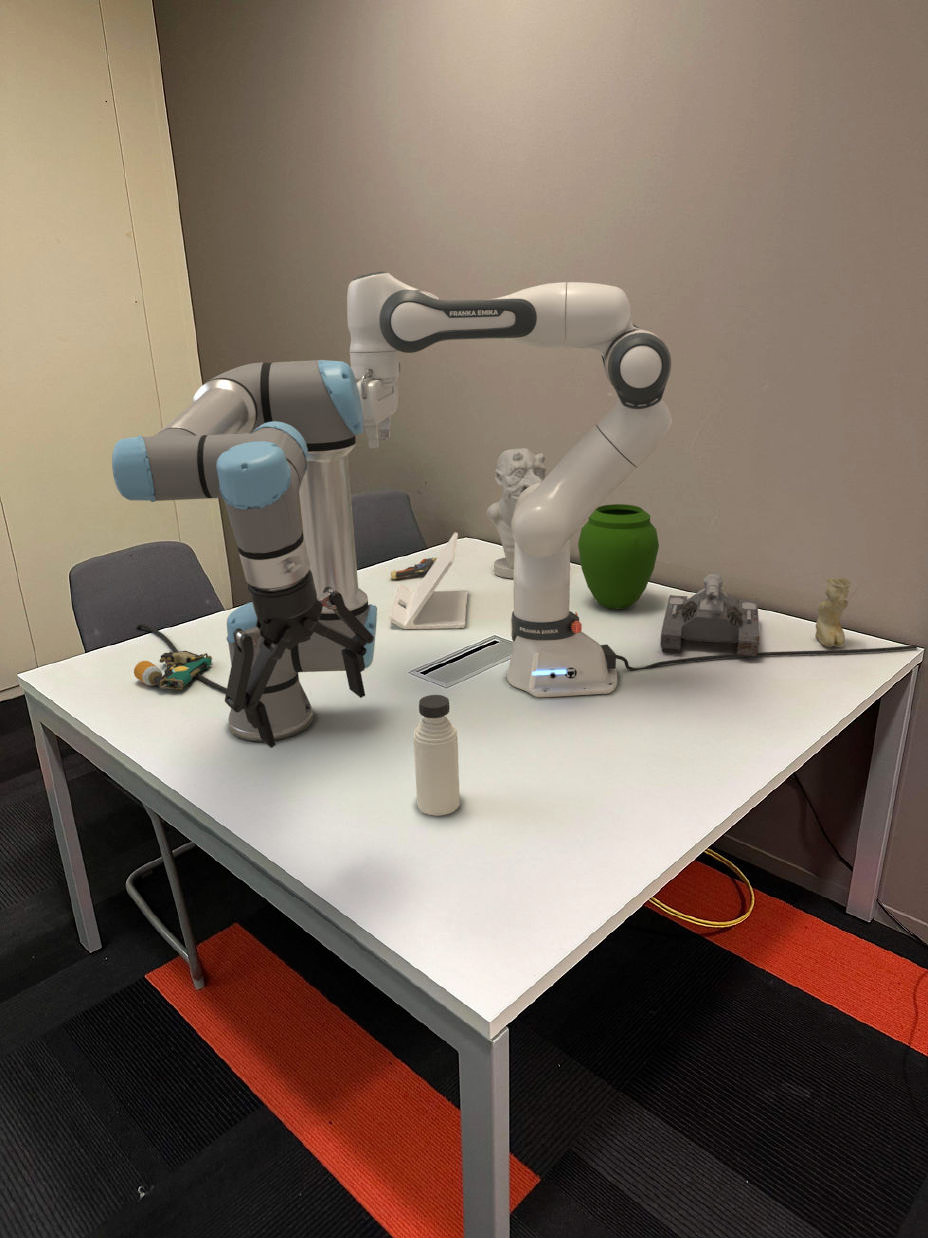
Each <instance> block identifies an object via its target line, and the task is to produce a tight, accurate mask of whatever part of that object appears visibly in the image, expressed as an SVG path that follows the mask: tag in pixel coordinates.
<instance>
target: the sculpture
mask: <svg viewBox="0 0 928 1238" xmlns="http://www.w3.org/2000/svg"><path fill="white" fill-rule="evenodd" d="M826 581H827V586H826V588H825V590H824V593H825V595H826V596H827V598H826V600H824V601H822V602H821V603H820V604H819V605H818V606H817V609H816V610H817V612H818V614H819V616H818V617H817V619H816V623H815V630H816V631H815V634H814V635H815V639H817V640H819V642H820V643H821V644H822V645H823V646H825V647H827V648H832V647H834V646H835V647H843V646H844V645H845V643H846V642H845V641H846V636H845V632H844V630H843V626H842V624H841V622H840V621H841V617H842V615H843V612H844V610H845V609H846V608H847V606H848V604H849V603H848V602H849V601H847V598H848V597H849V592H850V586H851V585H852V582H850V580H848V579H847V578H845V577H841V576H840V577H835V578H831V577H827V578H826Z"/></svg>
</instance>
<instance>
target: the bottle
mask: <svg viewBox="0 0 928 1238" xmlns="http://www.w3.org/2000/svg"><path fill="white" fill-rule="evenodd" d="M458 737H459V736H458V730H457V729H456V726H455V725H454V724H453V723H452V722H451V720H450V719H448V717H447V715H446V716H443V717H440V718H426V717H424V716H423V718H422V720H420V721H419V723H418V725H417V726H416V727H415V729H414V732H413V748H414V749H413V750H414V751H413V752H414V769H415V786H416V788H415V789H416V805H417V808H418V809H419V811H420V812H421V813H423V814H425V815H429V816H435V817H438V816H439V817H440V816H446V815H450V814H452V813H455V811H457V810H458V809H459V807H460V804H461V799H460V771H459V769H460V767H459V766H460V765H459V745H458V744H459V741H458V740H459V739H458Z"/></svg>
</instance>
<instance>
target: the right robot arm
mask: <svg viewBox="0 0 928 1238" xmlns="http://www.w3.org/2000/svg"><path fill="white" fill-rule="evenodd" d="M347 288H348V289H347V293H346V294H347V296H346V297H347V298H346V315H347V316H346V317H347V318H346V319H347V328H348V331H349V335H350V345H349V359H350V367H351V369H352V371H353V373H354V376H355V379H356V380H358V381H356V383H357V387H358V391H359V396H360V401H361V406H362V415H363V421H364V430H365V431H364V432H365V434H366V437H367V442H368V443H367V444H368V448H369V449H378V448H379V447H380V445H381V444H380V443H381V442H380V441H388V440H389V439H390V438H391V423H392V415H394V414H396V413H397V412H398V411H397V410H398V405H399V377H400V374H401V371H402V370H401V368H402V367H401V366H402V365H401V362H400V360H399V359H400V358H399V352H400V353H404V354H405V353H406V354H414V353H417V352H420V351H422V350H425V349H427V348H428V347H431V346H433V345H435V344H436V343H439V342H443V341H457V340H459V341H460V340H483V339H485V340H486V339H487V340H488V339H490V340H491V339H494V340H501V341H507V342H511V343H517V344H520V345H524V346H529V347H535V348H540V349H541V348H543V349H550V350H551V349H552V350H562V349H563V350H564V349H565V350H570V349H587V350H593V351H595V352H598V353H599V354H600V355H601V359H602V362H603V367H604V372H605V375H606V376H605V377H606V378H607V381H608V382H609V383H610V385H611V386H612V388H613V389H614V390H615V392H616V400H615V402H614V404H613V406H612V407H611V408H610V410H609V411H608V412H607V413H606V414H605V415H604V416H603V417H602V418H601V419H600V420H598V421H597V422H596V424H595V425H594V426H593V427H592V428H591V429H590V430H589V431H587V433H586V434H584V435H583V436H582V438H580V440H578V442H576V443H575V445H573V446H572V448H571V449H569V450H568V451H567V452H566V453H565V454H564V456H563V457H562V458H561V459H560V461H559V462H557V464H556V465H555V466H554V468H553V469H552V470H551V471H550V472H549V473H548V474H547V475H546V476H545V478H544V480H543V481H542V482H541V483H537V484H534V485H532V486H530V487H528V488H527V489H525V490H524V491H523V492H522V493H521V495H520V496H519V498H518V500H517V503H516V506H515V509H514V514H513V518H512V522H511V531H512V535H513V538H514V540H515V550H514V578H513V611H512V612H511V618H510V635H511V640H512V645H511V646H512V647H511V655H510V660H509V665H508V669H507V672H506V675H505V678H506V681H507V683H509V684H510V685H511V686H513V687H515V688H517V689H519V690H522V691H525V692H527V693H529V694H530V695H531V696H533V697H535V698H556V697H572V696H573V697H574V696H588V695H589V696H590V695H591V696H592V695H607V694H611V693H612V692H613V691H615V690H616V688H617V686H618V673H617V670H616V668H617V660H620V661H622V662H623V663H624V667H625V668H626V670H628V671H630V672H637V671H643V670H649V669H653V668H657V667H660V666H665V665H672V664H679V663H688V662H689V663H690V662H698V661H708V660H720V659H732V658H746V657H747V656H738V655H737V653H727V654H726V653H725V654H715V655H705V656H703V655H702V656H694V657H687V658H686V657H685V658H678V659H669V660H663V661H658V662H654V663H651V664H649V665H646V666H643V667H633V666H630V664H629V661H628V659H627V658H626V657H625V656H622V655H619V654H617V653H616V652H615V651H614V650H613V649H612V648H611V647H610V646H609V644H607V643H606V644H600V643H599V642H598V641H596V640H595V639H593V638H591V637H590V636H589V635H587V634H586V633H585V632H583V631H582V630H583V626H582V625H583V624H582V622H581V621H580V616H579V615H578V612H577V611H575V613H574V612H573V611H571V610H570V590H571V589H570V586H571V585H570V584H571V538H572V537H573V536H574V535H575V534H576V532H578V530H579V529H580V528H582V527H583V526H584V525H585V523H586V521H587V520H589V517H590V516H591V514H592V513H593V512H594V511H595V510H596V509H597V508H598V507H600V505H601V504H602V503H603V502H604V501H605V500H606V498H608V497H609V496H610V494H612V493H613V492H614V491H615V490H616V489H617V488H618V487H619V486H620V485H621V484H622V483H623V482H624V481H625V480H626V479H627V478H629V476H631V474H633V473H634V472H635V471H636V470H637V469H638V468H639V467H640V466H641V465H642V464H643V463H644V462H645V461H646V460H647V459H648V458H649V457H650V456H651V454H652V453H653V452H654V451H655V450H656V449H657V447H658V446H659V445H660V444H661V442H662V441H663V440H664V439H665V438H666V436H667V434H668V433H669V431H670V430H671V427H672V425H673V419H672V414H671V411H670V408H669V407H668V405H667V404H666V402H665V401H664V400H663V396H664V393H665V390H666V386H667V383H668V380H669V378H670V374H671V370H672V356H671V353H670V350H669V348H668V346H667V345H666V344H665V342H664V341H663V340H662V339H661V338H660V337H659V336H658V335H657V334H656V333H653V332H651V331H649V330H645V329H642V328H640V327H638V326H637V325H635V324H633V322H632V319H631V317H632V316H631V315H632V312H631V311H632V309H631V303H630V301H629V298H628V295H627V294H626V292H625V291H624V290H623V289H621V288H620V287H618V286H615V285H611V284H604V283H596V282H584V281H561V282H550V283H544V284H540V285H534V286H531V287H527V288H523V289H520V290H517V291H515V292H513V293H511V294H508V295H503V296H500V297H495V298H489V299H488V298H487V299H457V300H455V299H454V300H448V299H447V300H445V299H441V298H439V297H438V296H437V295H436V294H433V293H431V292H428V291H425V290H422V289H419V288H416V287H413V286H411V285H408V284H406V283H405V282H402V281H400V280H399V279H397V278H396V277H394V276H393V275H392V274H391V273H390V272H387V271H376V272H370V273H366V274H361V275H359V276H356V277H354V278H353V279H352V280H351V281H350V283H349V284H348V287H347ZM378 429H379V430H378ZM915 649H918V645H917V644H913V645H902V646H890V647H876V648H852V649H825V650H822V649H821V650H791V651H789V650H787V651H786V650H785V651H762V652H761V651H760V652H759V651H758V653H757V656H756V657H769V656H797V655H799V656H800V655H802V656H803V655H835V654H836V655H837V654H859V653H862V654H863V653H876V652H877V653H879V652H893V651H904V650H906V651H907V650H915ZM747 658H748V657H747Z"/></svg>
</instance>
